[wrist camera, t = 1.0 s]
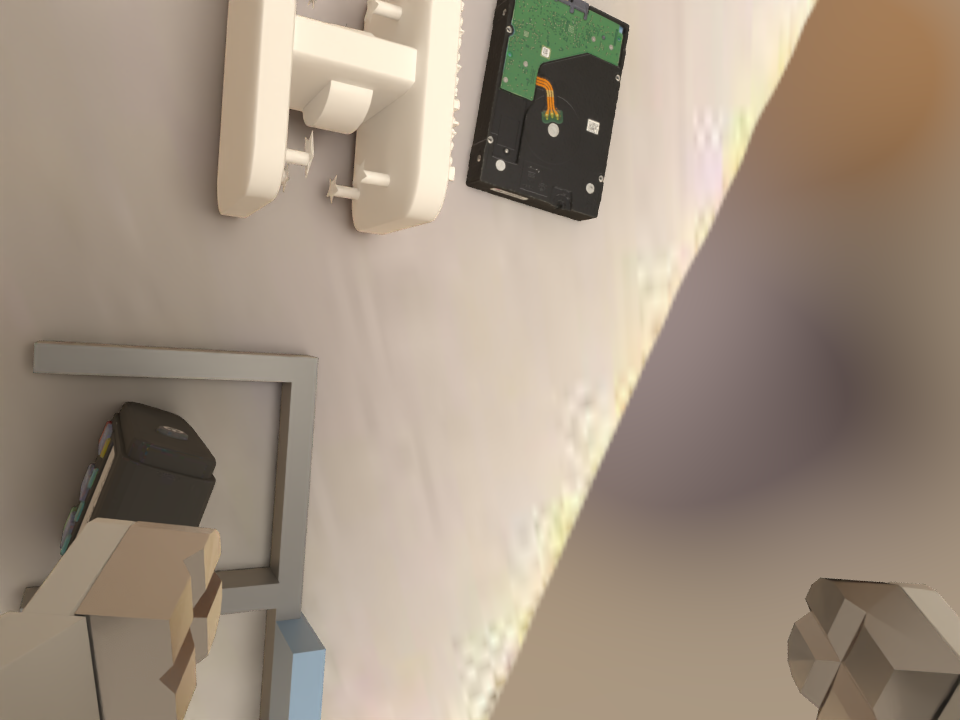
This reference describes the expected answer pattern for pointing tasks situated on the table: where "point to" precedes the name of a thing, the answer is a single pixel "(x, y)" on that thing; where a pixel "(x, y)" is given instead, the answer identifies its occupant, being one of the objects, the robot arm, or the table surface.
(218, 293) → the table surface
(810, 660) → the robot arm
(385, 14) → the cable organizer
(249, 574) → the comb rack
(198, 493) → the card reader
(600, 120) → the disk drive
